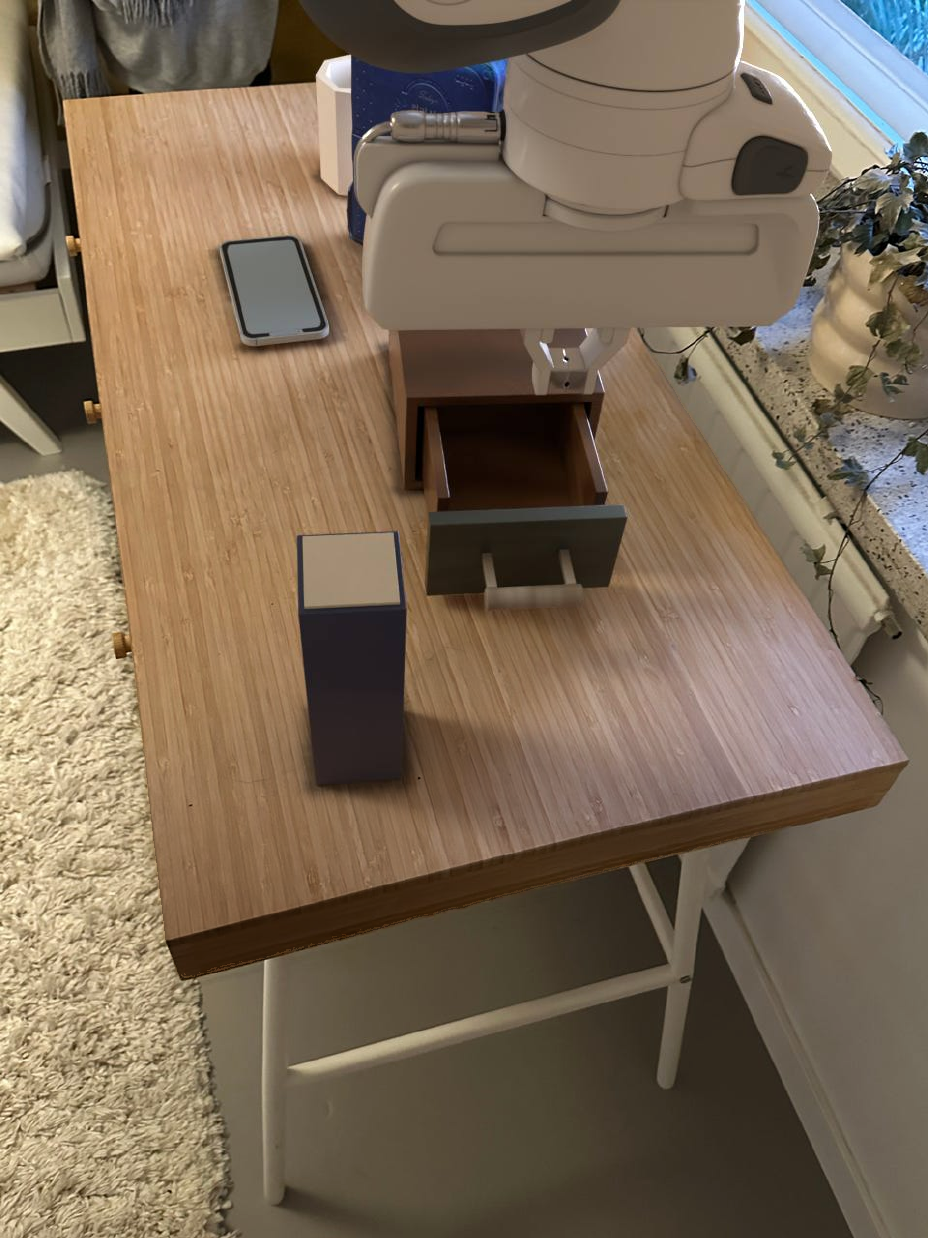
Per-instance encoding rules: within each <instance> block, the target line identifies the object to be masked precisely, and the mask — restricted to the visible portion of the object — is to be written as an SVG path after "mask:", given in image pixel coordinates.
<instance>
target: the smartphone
mask: <svg viewBox="0 0 928 1238" xmlns="http://www.w3.org/2000/svg"><path fill="white" fill-rule="evenodd" d="M218 247H219V254H220V255H219V256H220V259H221V263H222V268H223V271H224V275H225V279H226V284H227V288H228V291H229V295H230V301H231V304H232V310H233V314H234V317H235V320H236V326H237V328H238V333H239V338H240V341H241V343H243V344H244V345H246V346H249V347H259V346H260V347H261V346H270V345H277V344H279V345H280V344H285V343H295V342H296V343H297V342H303V341H313V340H320V339H321V340H322V339H324V338H326V337H327V336H328V335H329V333H330V325H329V321H328V318H327V315H326V312H325V309H324V306H323V302H322V299H321V297H320V293H319V291H318V287H317V285H316V282H315V278H314V276H313V272H312V269H311V267H310V264H309V261H308V257H307V255H306V252H305V249H304V246H303V243H302V239H300V237H299V236H297V235H292V234H284V235H273V236H263V237H261V236H260V237H250V238H241V239H228V240H225V241H223V242H221V243H220V244H219V246H218Z"/></svg>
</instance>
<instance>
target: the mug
mask: <svg viewBox="0 0 928 1238" xmlns="http://www.w3.org/2000/svg"><path fill="white" fill-rule="evenodd" d="M315 83H316V85H315V86H316V87H315V88H316V101H317V102H316V104H317V105H316V106H317V127H318V147H319V150H318V151H319V167H320V168H319V169H320V179H321V180H322V181H323V182H324V183H325V184H326V185H327V186H329V188H330V189H332V190H333V191H334V192H335V193H336V194H337V195H339V196H345V197H348V189H349V186H350V185H351V183H352V182H353V165H352V147H351V134H352V109H351V55H350V54H347V55H343V56H338V57H334V58H329V59H324V60H323V62H322V64H321V66H320V67H319V69H318V71H317V73H316V74H315Z"/></svg>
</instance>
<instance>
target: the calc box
mask: <svg viewBox="0 0 928 1238" xmlns="http://www.w3.org/2000/svg"><path fill="white" fill-rule="evenodd" d="M401 548H402V547H401V537H400V532H399V530H388V531H368V532H367V531H366V532H345V533H344V532H341V533H339V532H338V533H316V534H297V535H296V574H297V575H296V576H297V578H296V579H297V619H298V627H299V637H300V647H301V656H302V665H303V675H304V684H305V695H306V703H307V704H306V706H307V714H308V724H309V730H310V731H309V733H310V741H311V743H310V744H311V752H312V761H313V763H312V764H313V771H314V772H313V773H314V781H315V785H316V786H325V785H339V784H354V783H366V782H367V783H368V782H369V783H370V782H381V781H383V782H384V781H396V780H402V779H403V750H404V749H403V746H404V720H405V719H404V717H405V715H404V714H405V687H406V686H405V685H406V684H405V683H406V681H405V680H406V655H407V653H406V652H407V651H406V649H407V620H408V619H407V618H408V617H407V616H408V607H407V597H406V596H407V595H406V588H405V587H406V586H405V578H404V568H403V557H402V549H401Z"/></svg>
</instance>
